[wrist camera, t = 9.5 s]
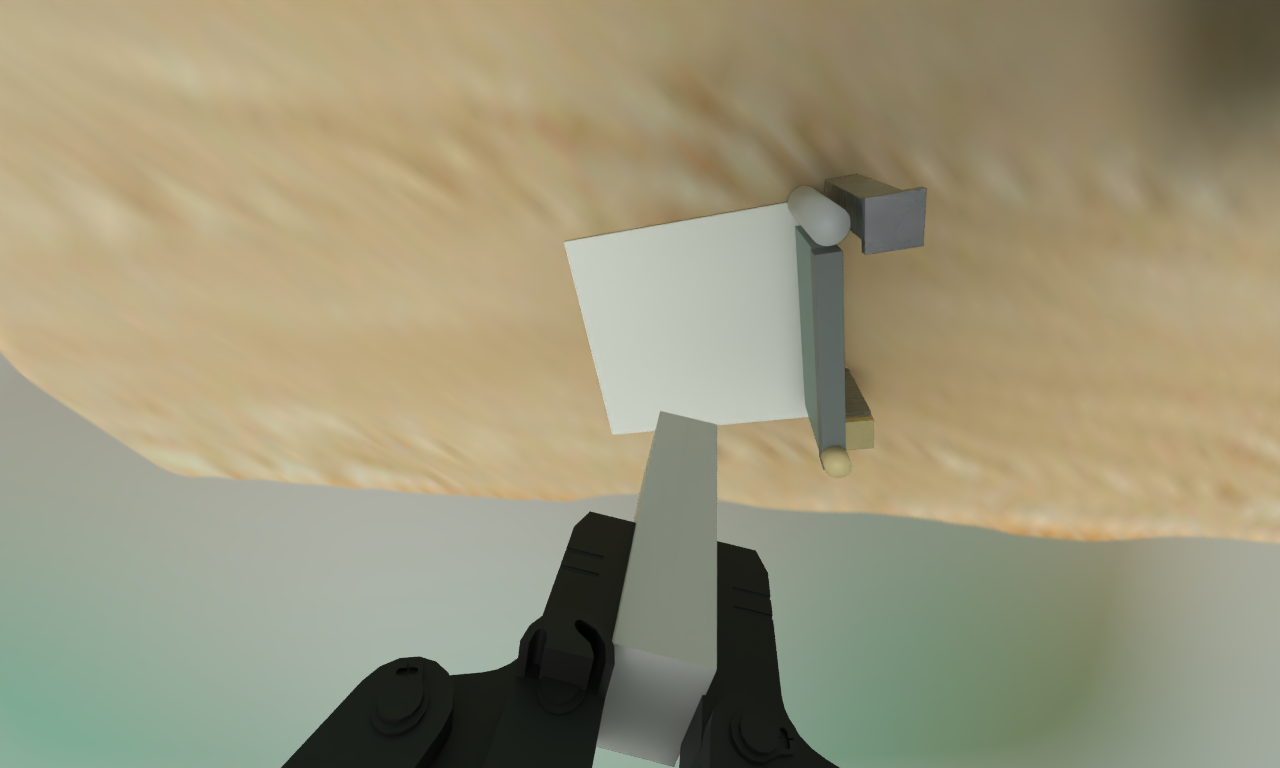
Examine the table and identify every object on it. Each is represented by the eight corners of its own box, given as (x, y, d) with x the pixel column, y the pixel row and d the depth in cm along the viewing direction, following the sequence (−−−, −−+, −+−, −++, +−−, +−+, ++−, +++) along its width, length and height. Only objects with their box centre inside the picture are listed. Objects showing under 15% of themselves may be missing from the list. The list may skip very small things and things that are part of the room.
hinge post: (861, 167, 33) (926, 188, 23) (861, 209, 34) (923, 245, 24) (820, 175, 34) (865, 198, 23) (821, 215, 35) (864, 254, 24)
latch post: (848, 368, 39) (874, 417, 33) (848, 397, 40) (873, 450, 34) (824, 371, 40) (844, 420, 33) (825, 400, 41) (845, 452, 34)
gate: (786, 188, 33) (810, 211, 25) (818, 182, 33) (853, 203, 24) (799, 405, 40) (822, 481, 32) (826, 403, 40) (855, 479, 31)
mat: (800, 199, 34) (801, 200, 34) (811, 414, 42) (812, 416, 41) (565, 241, 38) (563, 242, 37) (613, 432, 45) (612, 434, 45)
